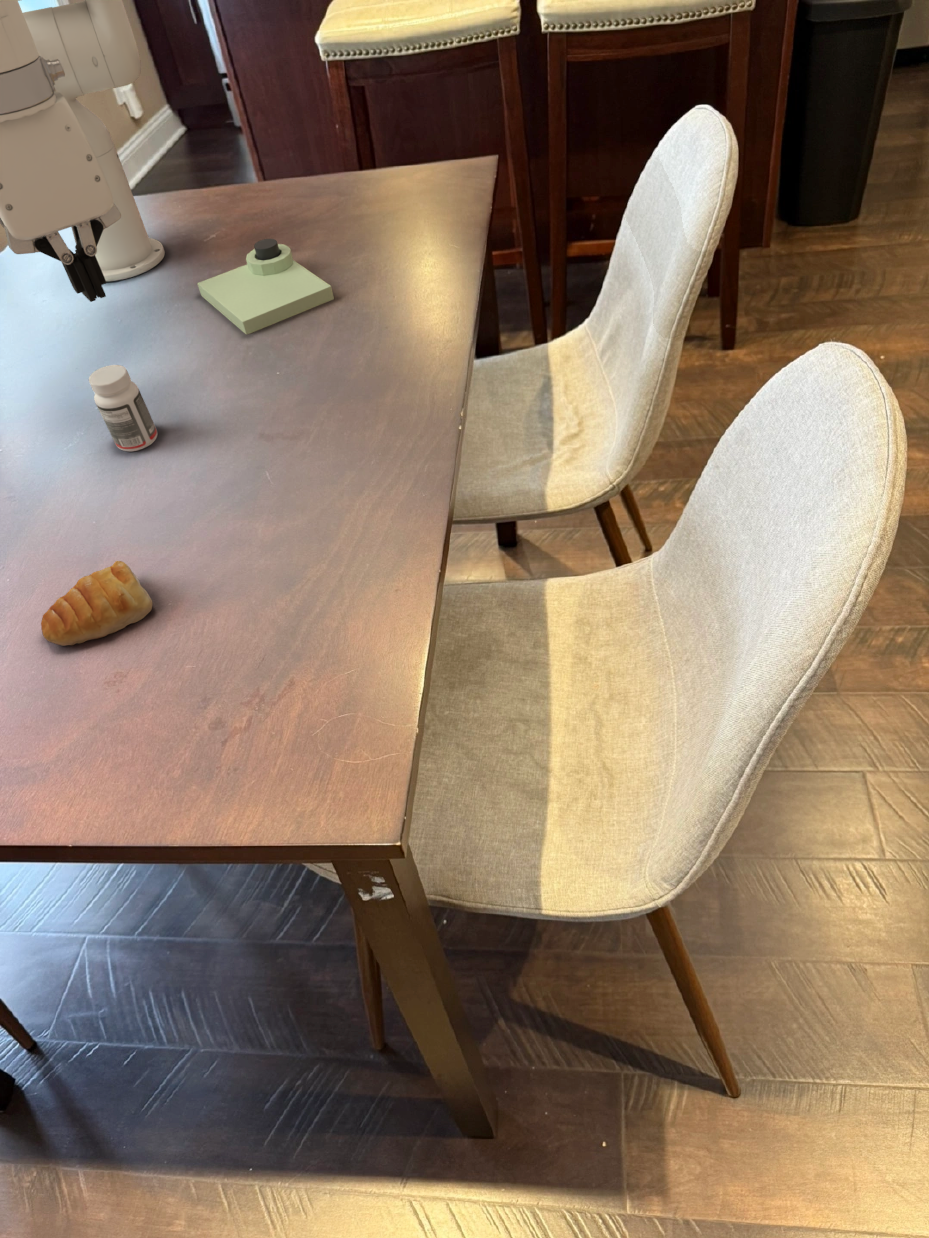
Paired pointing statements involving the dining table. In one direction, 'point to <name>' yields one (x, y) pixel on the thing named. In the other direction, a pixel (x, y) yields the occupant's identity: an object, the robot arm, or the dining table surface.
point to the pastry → (97, 606)
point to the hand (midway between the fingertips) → (93, 294)
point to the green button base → (265, 291)
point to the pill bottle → (122, 408)
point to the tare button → (267, 249)
